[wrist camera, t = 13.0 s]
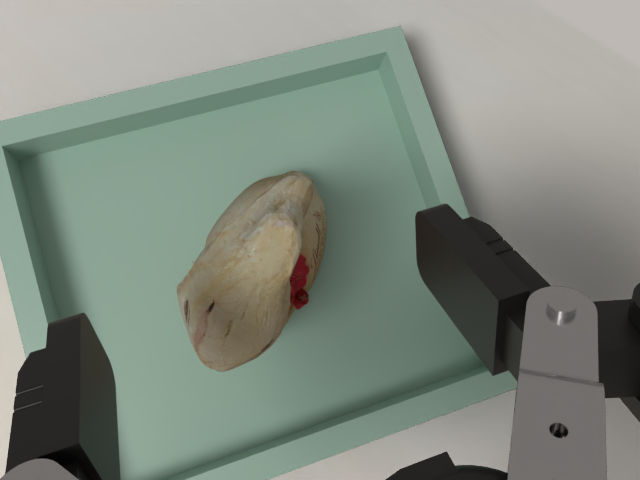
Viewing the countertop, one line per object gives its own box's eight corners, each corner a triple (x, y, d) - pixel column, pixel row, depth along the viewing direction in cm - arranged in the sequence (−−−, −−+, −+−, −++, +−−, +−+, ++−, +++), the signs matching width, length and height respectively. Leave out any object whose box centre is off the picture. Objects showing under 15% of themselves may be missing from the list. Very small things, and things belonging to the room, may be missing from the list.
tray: (387, 53, 28) (400, 25, 26) (502, 379, 26) (529, 383, 24) (-5, 149, 25) (-32, 128, 23) (92, 529, 23) (74, 550, 21)
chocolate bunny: (142, 271, 24) (75, 222, 15) (291, 161, 26) (321, 50, 16) (225, 378, 24) (214, 400, 14) (371, 259, 26) (451, 206, 16)
